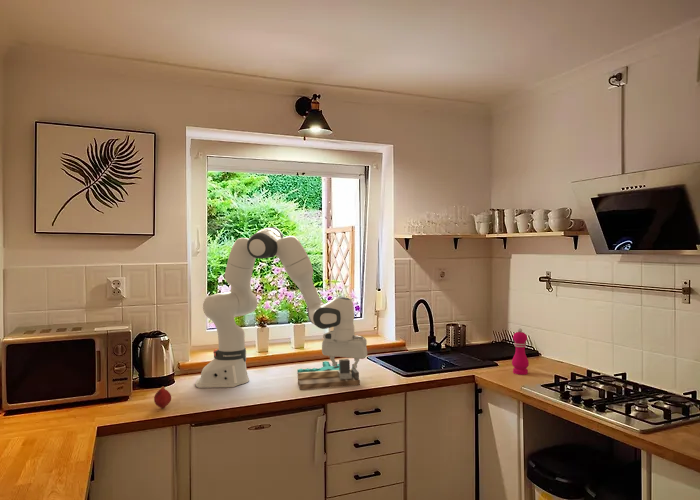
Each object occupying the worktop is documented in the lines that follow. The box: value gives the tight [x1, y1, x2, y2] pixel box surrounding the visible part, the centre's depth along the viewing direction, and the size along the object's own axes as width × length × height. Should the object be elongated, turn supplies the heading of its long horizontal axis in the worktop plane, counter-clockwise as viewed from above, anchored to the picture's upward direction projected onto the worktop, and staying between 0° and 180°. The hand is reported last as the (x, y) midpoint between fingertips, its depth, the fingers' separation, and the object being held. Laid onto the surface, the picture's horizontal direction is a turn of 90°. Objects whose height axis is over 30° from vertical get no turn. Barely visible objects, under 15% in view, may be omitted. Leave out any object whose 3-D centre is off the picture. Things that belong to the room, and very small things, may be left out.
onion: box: [153, 386, 172, 409], centre depth 190 cm, size 6×6×8 cm
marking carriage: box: [338, 358, 353, 380], centre depth 220 cm, size 6×6×7 cm
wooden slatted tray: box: [297, 367, 361, 390], centre depth 219 cm, size 25×10×5 cm, turn 101°
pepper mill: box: [511, 327, 530, 376], centre depth 232 cm, size 7×7×20 cm
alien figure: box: [296, 360, 339, 375], centre depth 239 cm, size 20×2×20 cm
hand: (344, 367), depth 220 cm, fingers open, 8 cm apart
